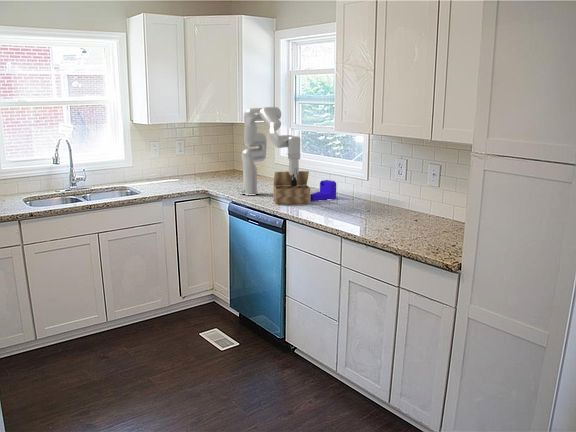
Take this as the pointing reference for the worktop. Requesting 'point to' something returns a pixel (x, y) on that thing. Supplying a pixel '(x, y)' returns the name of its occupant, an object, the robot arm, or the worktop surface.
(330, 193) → the bracket
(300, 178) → the lid flap
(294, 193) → the open wooden box
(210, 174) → the worktop surface
